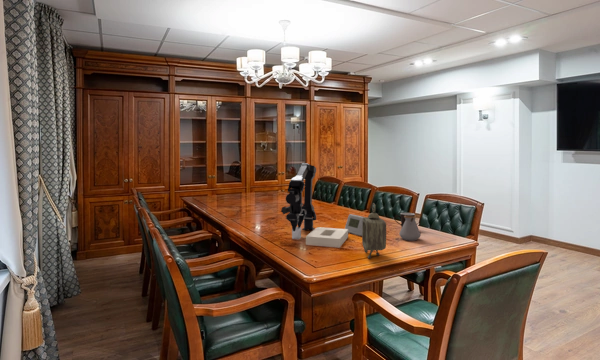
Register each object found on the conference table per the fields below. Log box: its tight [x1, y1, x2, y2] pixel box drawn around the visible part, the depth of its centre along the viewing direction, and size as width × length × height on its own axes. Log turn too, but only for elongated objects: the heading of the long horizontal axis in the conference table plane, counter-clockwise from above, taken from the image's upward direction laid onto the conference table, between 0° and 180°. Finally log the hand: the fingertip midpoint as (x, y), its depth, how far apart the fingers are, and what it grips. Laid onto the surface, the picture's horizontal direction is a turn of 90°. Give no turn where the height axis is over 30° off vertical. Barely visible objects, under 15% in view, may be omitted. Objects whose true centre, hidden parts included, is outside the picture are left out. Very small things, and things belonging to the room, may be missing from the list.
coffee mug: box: [393, 212, 416, 228], centre depth 234 cm, size 12×9×10 cm
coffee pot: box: [399, 215, 422, 242], centre depth 204 cm, size 21×12×15 cm, turn 167°
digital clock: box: [344, 213, 364, 237], centre depth 222 cm, size 16×9×11 cm, turn 23°
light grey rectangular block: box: [291, 226, 302, 240], centre depth 210 cm, size 4×4×6 cm
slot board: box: [305, 226, 349, 249], centre depth 205 cm, size 24×18×4 cm
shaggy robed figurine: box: [361, 202, 387, 260], centre depth 176 cm, size 14×9×25 cm, turn 178°
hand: (296, 229), depth 210 cm, fingers open, 9 cm apart
